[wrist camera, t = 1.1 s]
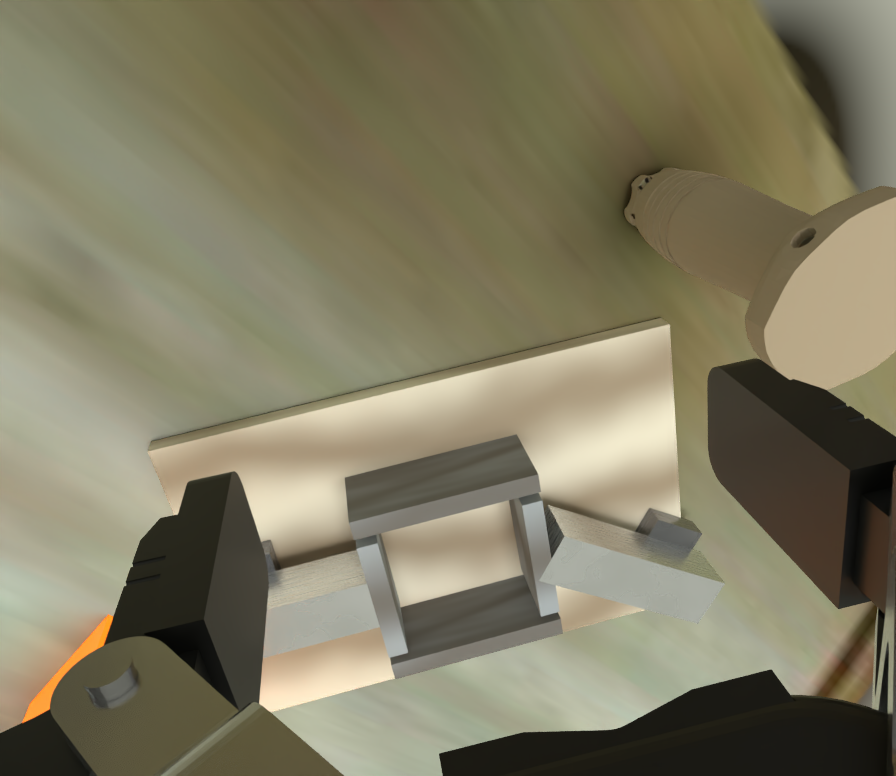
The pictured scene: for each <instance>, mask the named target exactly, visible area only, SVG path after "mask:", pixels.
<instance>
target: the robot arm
mask: <svg viewBox="0 0 896 776" xmlns="http://www.w3.org/2000/svg"><path fill="white" fill-rule="evenodd" d="M708 451H709V457H710V462H711V465H712V468H713V470H714V473H715V475H716V477H717V478H718V480H719V482H720V483H721V484H722V485H723V486H724V487H725V488H726V489H727V491H728V492H729V493H730V494H731V495H732V496H733V497H734V498H735V499H736V500H737V501H738V502H739V503H740V504H741V505H742V507H743V508H744V509H745V510H746V511H747V512H748V513H749V514H750V515H751V516H752V517H753V518H754V519H755V520H756V522H757V523H758V524H759V525H760V526H761V527H762V528H763V529H764V530H765V531H766V532H767V533H768V534H769V535H770V537H771V538H772V539H773V540H774V541H775V542H776V543H777V544H778V545H779V546H780V547H781V548H782V549H783V550H784V552H785V553H786V554H787V555H788V556H789V557H790V558H791V559H792V560H793V561H794V562H795V563H796V564H797V565H798V566H799V568H800V569H801V570H802V571H803V572H804V573H805V574H806V575H807V576H808V577H809V578H810V579H811V580H812V581H813V583H814V584H815V585H816V586H817V587H818V588H819V589H820V590H821V591H822V592H823V593H824V594H825V595H826V596H827V598H828V599H829V600H830V601H831V602H832V603H833V604H834V605H835V606H836V607H837V608H838V609H841V608H845V607H849V606H853V605H857V604H861V603H865V602H869V601H872V602H873V603H874V604H875V605H876V606H877V607H878V609H877V618H876V627H875V650H874V672H873V696H872V708H870V707H866V706H863V705H859V704H856V703H852V702H848V701H844V700H838V699H832V698H826V697H819V696H806V695H790V694H789V693H788V691H787V690H786V689H785V687H784V686H783V685H782V683H781V682H780V680H779V679H778V678H777V676H776V675H775V674H774V672H773V671H772V670H767V671H763V672H759V673H755V674H751V675H748V676H744V677H740V678H736V679H732V680H728V681H724V682H720V683H716V684H712V685H708V686H704V687H700V688H696V689H692V690H690V691H688V692H687V693H685V694H683V695H681V696H679V697H677V698H675V699H674V700H672V701H670V702H668V703H666V704H664V705H662V706H661V707H659V708H657V709H655V710H653V711H651V712H649V713H647V714H646V715H644V716H642V717H640V718H638V719H636V720H634V721H633V722H631V723H629V724H627V725H625V726H623V727H621V728H618V729H614V730H598V731H560V732H523V733H519V734H515V735H511V736H507V737H503V738H499V739H495V740H491V741H487V742H483V743H479V744H475V745H472V746H468V747H464V748H460V749H456V750H452V751H448V752H444V753H440V754H439V756H440V762H441V768H442V773H443V776H896V437H895V436H894V435H892V434H891V433H889V432H888V431H886V430H885V429H883V428H882V427H880V426H879V425H877V424H876V423H874V422H873V421H871V420H870V419H865V418H864V415H863V414H861V413H860V412H858V411H857V410H855V409H854V408H852V407H851V406H849V407H847V406H846V403H845V402H843V401H842V400H840V399H839V398H837V397H836V396H834V395H833V394H831V393H830V392H828V391H827V390H825V389H823V388H820V387H817V386H814V385H811V384H808V383H805V382H802V381H799V380H795V379H792V380H789V379H788V378H786V377H785V376H783V375H782V374H780V373H779V372H778V371H776V370H775V369H773V368H772V367H770V366H769V365H768V364H766V363H765V362H763V361H762V360H760V359H757V358H756V359H750V360H746V361H741V362H736V363H732V364H727V365H723V366H718V367H714V368H712V369H711V371H710V373H709V376H708ZM132 564H133V567H131V568H130V571H129V574H128V577H127V580H126V586H124V588H123V591H122V594H121V597H120V600H119V602H118V605H117V608H116V611H115V614H114V617H113V620H112V622H111V625H110V628H109V631H108V634H107V637H106V640H105V642H104V645H103V646H102V647H100V648H98V649H96V650H95V651H93V652H91V653H89V654H88V655H86V656H85V657H84V658H82V659H81V660H79V661H78V662H77V663H76V664H75V665H74V666H72V667H71V668H70V669H69V670H68V671H67V672H66V673H65V675H64V676H63V677H62V678H61V680H60V681H59V682H58V684H57V686H56V687H55V689H54V691H53V694H52V697H51V701H50V709H49V710H47V711H45V712H44V713H42V714H40V715H38V716H36V717H34V718H32V719H30V720H28V721H26V722H23V723H21V724H19V725H17V726H15V727H13V728H11V729H9V730H6V731H4V732H2V733H0V776H344V775H343V774H341V773H340V772H339V771H338V770H337V769H336V768H334V767H333V766H332V765H331V764H330V763H329V762H327V761H326V760H325V759H324V758H323V757H322V756H321V755H319V754H318V753H317V752H316V751H315V750H314V749H312V748H311V747H310V746H309V745H308V744H307V743H305V742H304V741H303V740H302V739H301V738H300V737H298V736H297V735H296V734H295V733H294V732H293V731H291V730H290V729H289V728H288V727H287V726H286V725H285V724H283V723H282V722H281V721H280V720H279V719H278V718H276V717H275V716H274V715H273V714H272V713H271V712H269V711H268V710H267V709H266V708H265V707H263V706H262V705H260V704H259V699H260V687H261V675H262V663H263V650H264V638H265V626H266V614H267V602H268V590H269V577H268V568H267V562H266V557H265V553H264V549H263V546H262V543H261V540H260V537H259V534H258V531H257V528H256V524H255V521H254V518H253V515H252V512H251V509H250V506H249V503H248V500H247V497H246V494H245V491H244V488H243V485H242V482H241V480H240V477H239V475H238V474H237V473H236V472H235V471H233V472H228V473H223V474H219V475H214V476H210V477H205V478H200V479H196V480H191V481H189V482H188V483H187V485H186V488H185V492H184V495H183V499H182V502H181V506H180V509H179V513H178V514H177V515H173V516H168V517H164V518H160V519H159V520H158V521H157V523H156V524H155V525H154V526H153V527H152V528H151V529H150V530H149V531H148V533H147V534H146V535H145V536H144V537H143V538H142V539H141V540H140V543H139V545H138V548H137V551H136V554H135V557H134V560H133V563H132Z"/></svg>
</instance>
